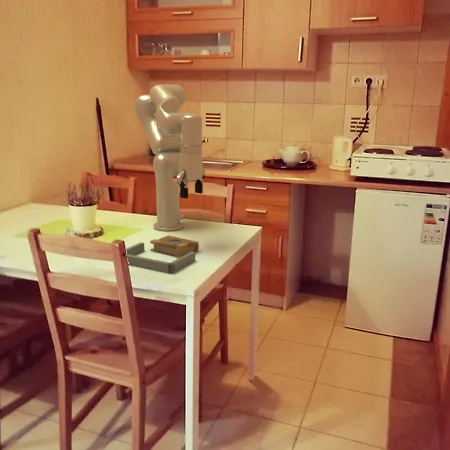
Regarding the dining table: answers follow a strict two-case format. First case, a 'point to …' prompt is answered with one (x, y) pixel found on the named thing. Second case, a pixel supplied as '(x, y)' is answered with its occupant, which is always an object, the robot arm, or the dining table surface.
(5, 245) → the dining table surface
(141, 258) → the tray
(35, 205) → the dining table surface
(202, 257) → the dining table surface
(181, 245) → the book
